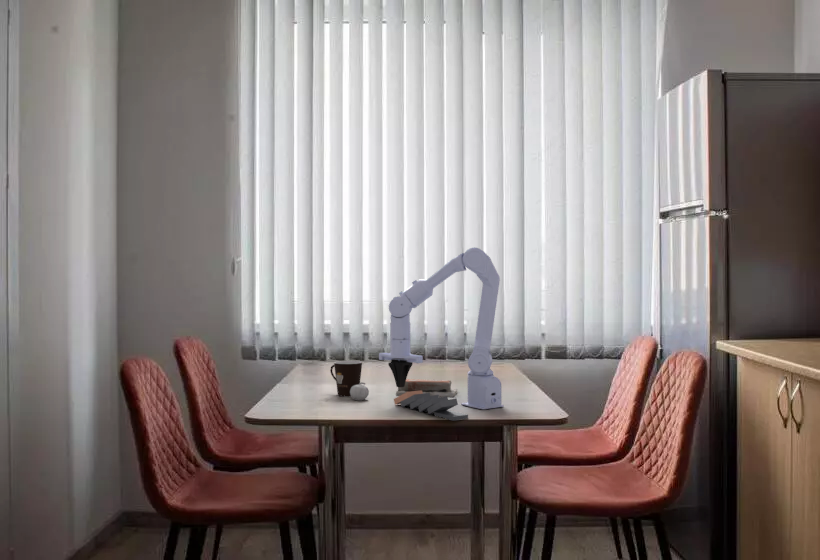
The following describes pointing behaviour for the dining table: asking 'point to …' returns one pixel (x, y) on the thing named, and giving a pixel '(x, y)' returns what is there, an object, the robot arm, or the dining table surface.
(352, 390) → the garlic
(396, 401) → the domino
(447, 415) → the domino
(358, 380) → the coffee mug
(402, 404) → the domino
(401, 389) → the packaged product
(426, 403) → the domino
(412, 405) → the domino
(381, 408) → the dining table surface
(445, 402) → the domino
